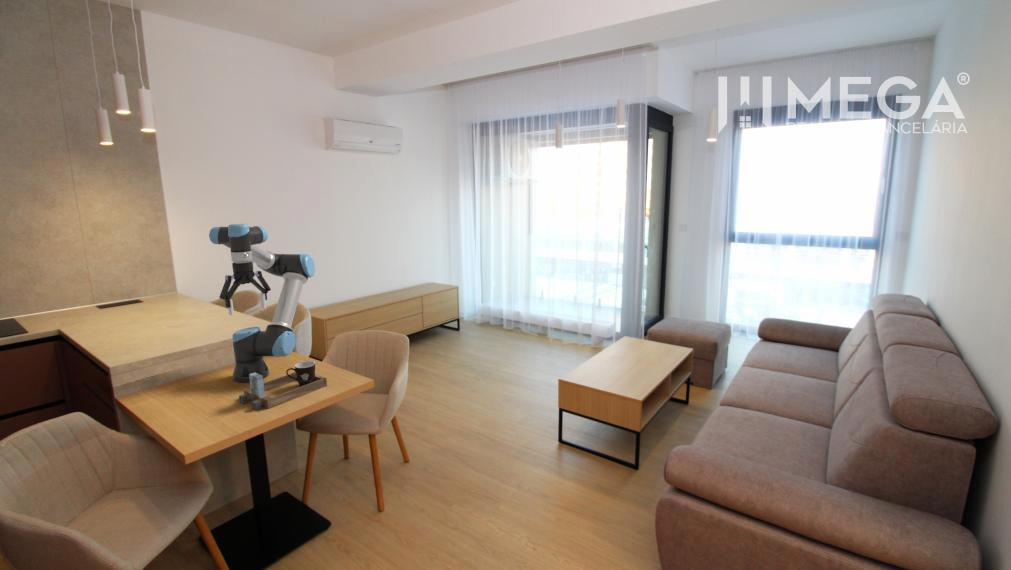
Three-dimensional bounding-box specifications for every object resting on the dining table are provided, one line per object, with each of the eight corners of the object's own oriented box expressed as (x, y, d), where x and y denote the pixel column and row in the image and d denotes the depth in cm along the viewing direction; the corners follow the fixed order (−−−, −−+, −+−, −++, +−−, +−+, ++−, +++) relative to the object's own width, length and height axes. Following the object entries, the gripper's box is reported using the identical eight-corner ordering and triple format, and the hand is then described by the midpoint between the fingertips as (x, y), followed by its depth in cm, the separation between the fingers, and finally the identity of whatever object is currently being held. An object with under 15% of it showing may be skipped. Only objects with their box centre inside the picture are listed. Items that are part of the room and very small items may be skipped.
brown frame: (244, 397, 203) (241, 371, 200) (302, 376, 225) (300, 352, 223) (268, 408, 193) (265, 380, 190) (326, 385, 215) (324, 360, 213)
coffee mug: (320, 381, 219) (319, 361, 217) (310, 389, 211) (308, 368, 209) (297, 380, 221) (295, 360, 219) (286, 387, 213) (284, 366, 211)
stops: (239, 402, 199) (239, 395, 198) (244, 400, 200) (243, 393, 200) (256, 410, 192) (255, 403, 191) (261, 408, 193) (260, 401, 193)
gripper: (214, 266, 184) (221, 319, 189) (276, 258, 204) (281, 306, 209) (205, 264, 188) (212, 316, 193) (266, 257, 209) (271, 304, 213)
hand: (248, 311), depth 201 cm, fingers open, 13 cm apart
